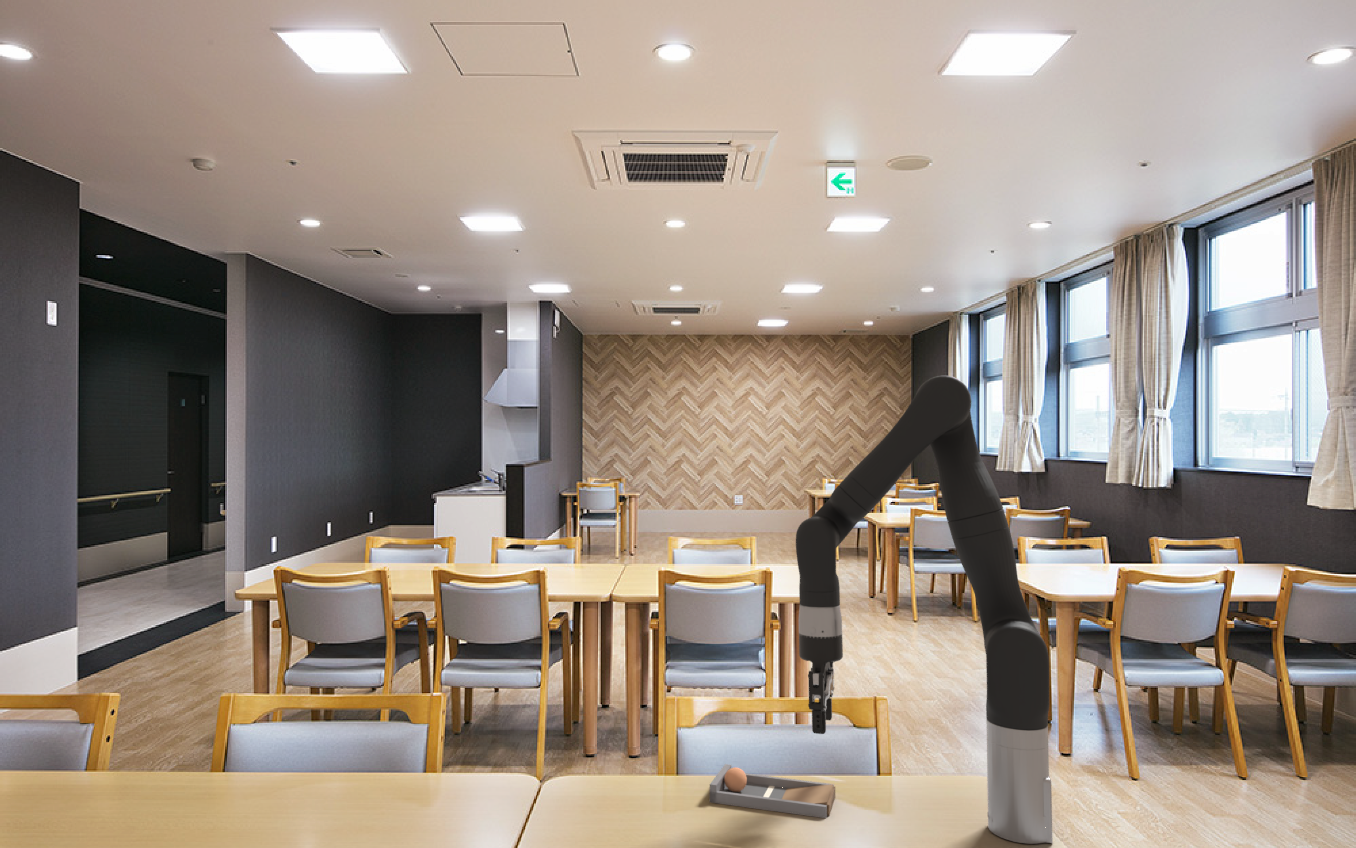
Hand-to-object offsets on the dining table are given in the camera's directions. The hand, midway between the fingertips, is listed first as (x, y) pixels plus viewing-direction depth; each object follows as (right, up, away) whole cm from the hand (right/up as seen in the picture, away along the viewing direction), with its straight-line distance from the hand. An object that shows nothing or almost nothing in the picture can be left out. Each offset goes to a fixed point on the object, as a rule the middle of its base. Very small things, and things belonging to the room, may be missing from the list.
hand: (822, 726), depth 140 cm
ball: (-15, -11, +4) cm, 19 cm away
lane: (-9, -13, +2) cm, 16 cm away
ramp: (-3, -13, 0) cm, 14 cm away
